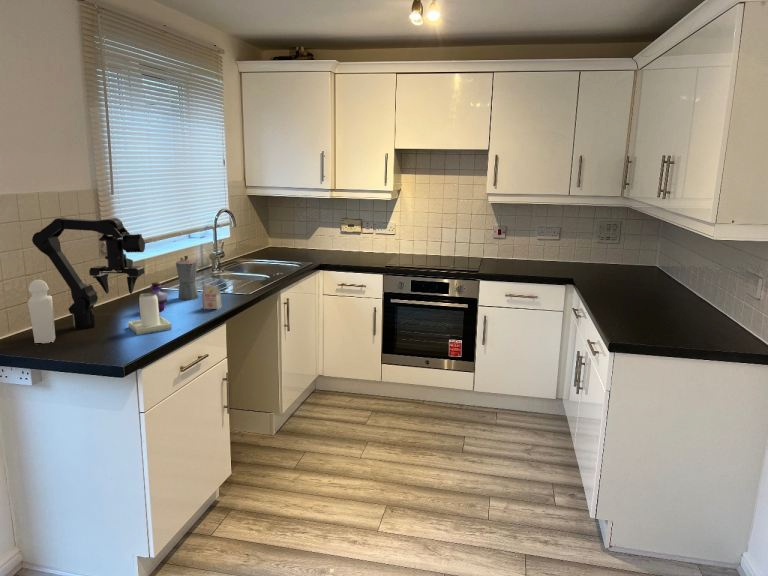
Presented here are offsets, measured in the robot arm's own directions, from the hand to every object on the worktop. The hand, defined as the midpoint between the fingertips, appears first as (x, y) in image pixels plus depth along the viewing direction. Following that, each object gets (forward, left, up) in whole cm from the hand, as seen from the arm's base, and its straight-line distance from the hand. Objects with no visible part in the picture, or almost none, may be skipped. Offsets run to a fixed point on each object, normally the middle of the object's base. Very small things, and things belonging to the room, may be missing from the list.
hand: (119, 293), depth 214 cm
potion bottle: (+18, +18, -13) cm, 29 cm away
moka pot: (+35, +34, -13) cm, 51 cm away
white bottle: (-26, -4, -13) cm, 29 cm away
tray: (+8, -8, -13) cm, 17 cm away
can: (+8, -8, -12) cm, 17 cm away
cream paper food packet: (+38, +8, -13) cm, 41 cm away
